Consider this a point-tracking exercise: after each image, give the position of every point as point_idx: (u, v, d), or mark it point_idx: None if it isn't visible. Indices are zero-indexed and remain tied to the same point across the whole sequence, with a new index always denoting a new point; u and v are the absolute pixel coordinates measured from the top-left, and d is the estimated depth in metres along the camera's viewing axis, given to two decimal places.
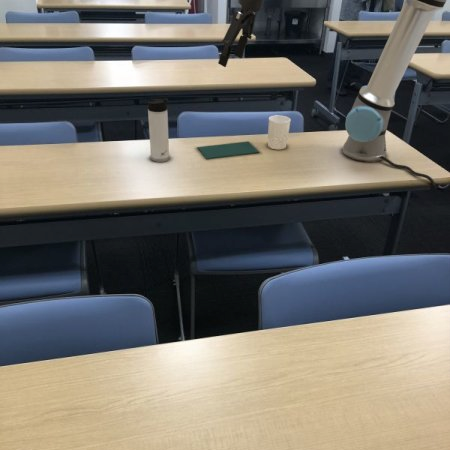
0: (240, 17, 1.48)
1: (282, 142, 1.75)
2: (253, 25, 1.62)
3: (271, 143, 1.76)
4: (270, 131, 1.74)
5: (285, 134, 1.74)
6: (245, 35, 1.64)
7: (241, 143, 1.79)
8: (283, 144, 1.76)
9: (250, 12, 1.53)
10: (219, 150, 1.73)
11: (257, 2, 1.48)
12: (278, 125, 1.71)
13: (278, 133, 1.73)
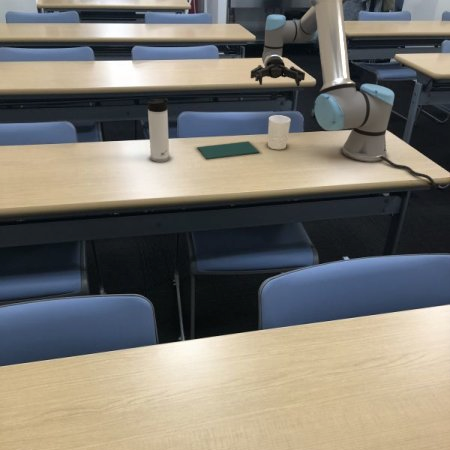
0: (258, 66, 1.85)
1: (282, 142, 1.75)
2: (299, 70, 1.82)
3: (271, 143, 1.76)
4: (270, 131, 1.74)
5: (285, 134, 1.74)
6: None
7: (241, 143, 1.79)
8: (283, 144, 1.76)
9: (277, 66, 1.86)
10: (219, 150, 1.73)
11: (269, 57, 1.87)
12: (278, 125, 1.71)
13: (278, 133, 1.73)
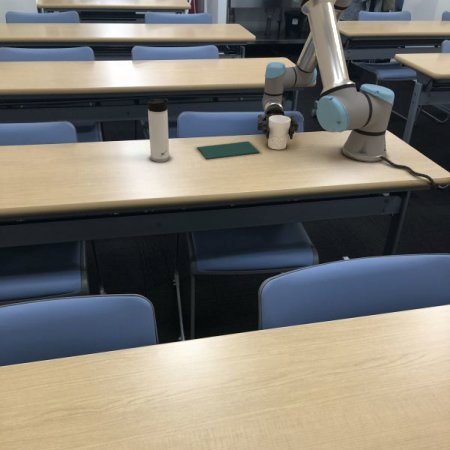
0: (258, 116, 1.83)
1: (282, 142, 1.75)
2: (295, 121, 1.80)
3: (271, 143, 1.76)
4: (270, 131, 1.74)
5: (285, 134, 1.74)
6: None
7: (241, 143, 1.79)
8: (283, 144, 1.76)
9: (277, 114, 1.85)
10: (219, 150, 1.73)
11: (269, 106, 1.86)
12: (278, 125, 1.71)
13: (278, 133, 1.73)
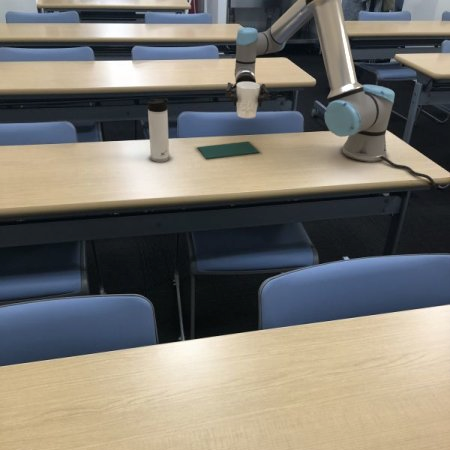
0: None
1: (251, 110, 1.65)
2: (265, 89, 1.69)
3: (239, 111, 1.66)
4: (238, 98, 1.63)
5: (254, 101, 1.63)
6: None
7: (241, 143, 1.79)
8: (252, 112, 1.65)
9: None
10: (219, 150, 1.73)
11: (240, 74, 1.76)
12: (245, 91, 1.60)
13: (246, 100, 1.62)
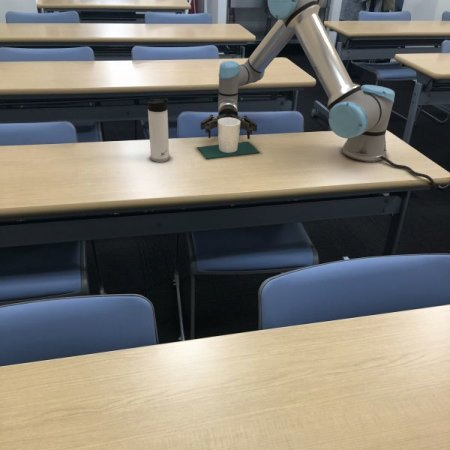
0: None
1: (232, 145, 1.70)
2: (251, 121, 1.75)
3: (221, 146, 1.71)
4: (219, 134, 1.69)
5: (235, 137, 1.69)
6: None
7: (241, 143, 1.79)
8: (233, 147, 1.71)
9: (229, 115, 1.79)
10: (219, 150, 1.73)
11: (222, 106, 1.81)
12: (226, 128, 1.66)
13: (227, 136, 1.67)
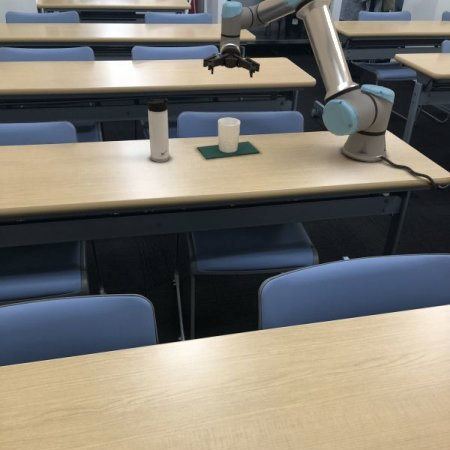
0: None
1: (232, 145, 1.70)
2: (254, 61, 1.75)
3: (221, 146, 1.71)
4: (219, 134, 1.69)
5: (235, 137, 1.69)
6: None
7: (241, 143, 1.79)
8: (233, 147, 1.71)
9: (232, 55, 1.78)
10: (219, 150, 1.73)
11: (225, 46, 1.80)
12: (226, 128, 1.66)
13: (227, 136, 1.67)
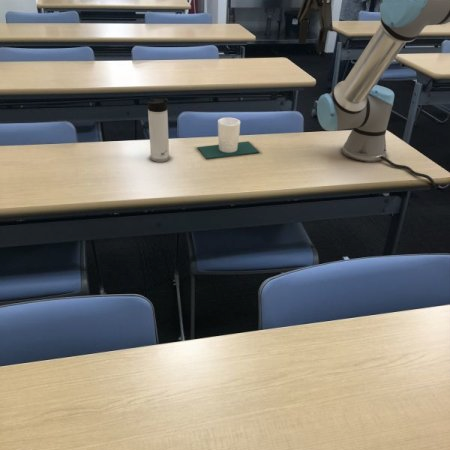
0: None
1: (232, 145, 1.70)
2: None
3: (221, 146, 1.71)
4: (219, 134, 1.69)
5: (235, 137, 1.69)
6: (304, 20, 1.71)
7: (241, 143, 1.79)
8: (233, 147, 1.71)
9: None
10: (219, 150, 1.73)
11: None
12: (226, 128, 1.66)
13: (227, 136, 1.67)
